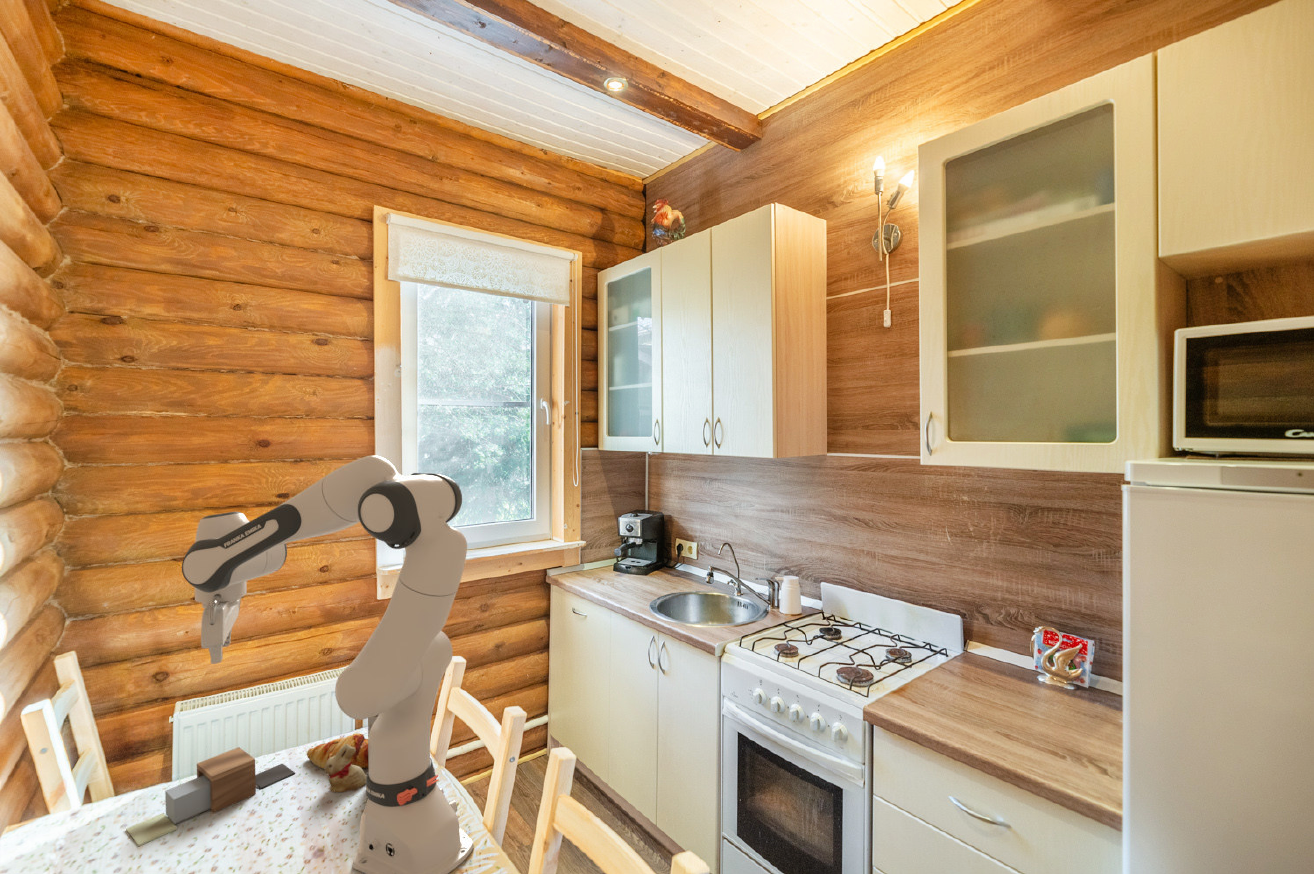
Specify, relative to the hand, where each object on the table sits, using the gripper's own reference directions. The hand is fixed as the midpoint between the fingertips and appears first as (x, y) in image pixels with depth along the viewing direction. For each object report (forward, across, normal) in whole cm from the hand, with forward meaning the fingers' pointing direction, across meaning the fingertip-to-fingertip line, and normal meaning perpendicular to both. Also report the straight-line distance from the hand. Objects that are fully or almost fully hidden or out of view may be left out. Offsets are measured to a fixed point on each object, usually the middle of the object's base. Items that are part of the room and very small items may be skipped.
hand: (220, 653), depth 126 cm
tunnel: (+33, +3, 0) cm, 33 cm away
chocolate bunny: (+33, -4, -24) cm, 41 cm away
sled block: (+33, +1, +4) cm, 33 cm away
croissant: (+33, +6, -24) cm, 42 cm away
